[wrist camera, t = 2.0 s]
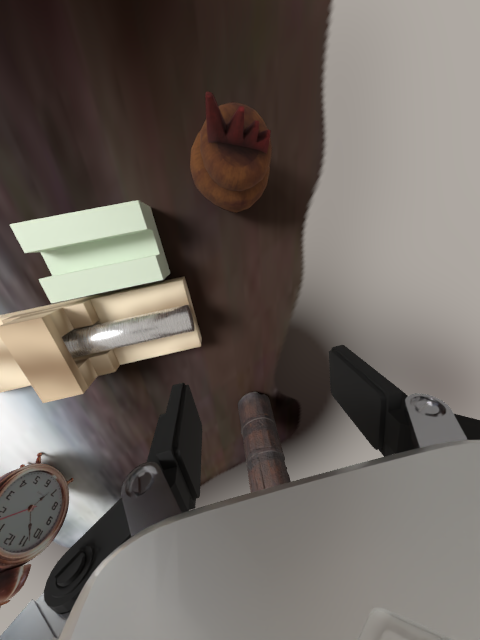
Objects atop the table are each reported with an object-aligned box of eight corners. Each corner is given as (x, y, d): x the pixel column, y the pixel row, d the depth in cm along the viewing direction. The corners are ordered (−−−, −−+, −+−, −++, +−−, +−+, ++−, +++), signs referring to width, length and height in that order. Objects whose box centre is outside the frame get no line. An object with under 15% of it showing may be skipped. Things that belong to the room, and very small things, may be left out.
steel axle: (57, 358, 25) (37, 369, 22) (47, 333, 25) (24, 342, 22) (195, 327, 26) (192, 334, 23) (188, 302, 26) (185, 306, 23)
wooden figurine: (185, 190, 24) (152, 122, 10) (209, 134, 22) (212, -39, 8) (240, 225, 26) (277, 208, 12) (265, 175, 24) (343, 89, 10)
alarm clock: (87, 481, 36) (9, 637, 22) (61, 494, 36) (-31, 656, 22) (33, 440, 32) (-104, 598, 18) (5, 455, 32) (-151, 622, 18)
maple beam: (-60, 327, 25) (-155, 359, 18) (184, 276, 27) (176, 288, 20) (-15, 387, 28) (-84, 432, 22) (201, 337, 30) (199, 366, 23)
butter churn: (204, 412, 34) (192, 974, 8) (244, 368, 32) (392, 907, 6) (249, 435, 37) (346, 904, 11) (287, 396, 35) (512, 846, 9)
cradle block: (45, 226, 23) (9, 224, 19) (150, 207, 24) (138, 200, 20) (76, 292, 26) (51, 303, 22) (170, 273, 26) (163, 279, 22)
